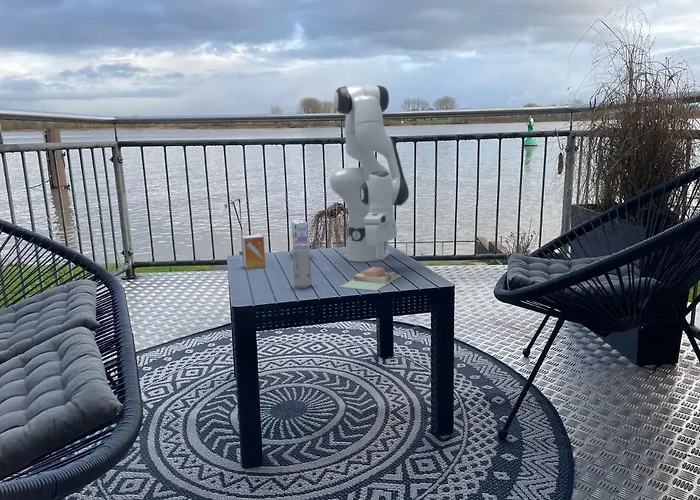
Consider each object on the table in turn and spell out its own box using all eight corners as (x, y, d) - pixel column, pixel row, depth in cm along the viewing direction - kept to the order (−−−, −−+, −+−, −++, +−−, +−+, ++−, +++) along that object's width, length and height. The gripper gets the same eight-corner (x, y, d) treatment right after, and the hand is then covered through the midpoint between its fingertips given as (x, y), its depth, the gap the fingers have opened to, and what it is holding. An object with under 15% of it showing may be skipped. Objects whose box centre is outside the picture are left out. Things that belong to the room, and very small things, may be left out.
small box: (246, 269, 213) (244, 238, 211) (243, 266, 219) (241, 236, 216) (266, 267, 216) (263, 236, 214) (262, 264, 222) (260, 234, 219)
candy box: (310, 260, 226) (308, 222, 223) (296, 261, 225) (294, 223, 222) (305, 254, 239) (303, 218, 236) (293, 255, 238) (291, 219, 235)
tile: (372, 271, 192) (372, 266, 191) (384, 272, 189) (384, 267, 189) (363, 276, 186) (363, 271, 185) (376, 277, 183) (376, 272, 183)
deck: (366, 274, 195) (366, 269, 195) (395, 277, 190) (395, 272, 189) (354, 281, 187) (353, 276, 186) (384, 284, 181) (384, 278, 181)
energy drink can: (312, 287, 180) (309, 245, 178) (294, 289, 180) (292, 246, 177) (310, 283, 186) (308, 242, 183) (294, 284, 185) (291, 243, 183)
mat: (367, 272, 198) (367, 272, 198) (401, 275, 192) (401, 275, 192) (339, 287, 179) (339, 286, 179) (376, 291, 173) (376, 290, 173)
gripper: (385, 213, 200) (386, 248, 202) (361, 219, 182) (363, 258, 185) (400, 213, 197) (401, 249, 200) (377, 219, 180) (379, 258, 182)
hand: (382, 253), depth 192 cm, fingers closed
